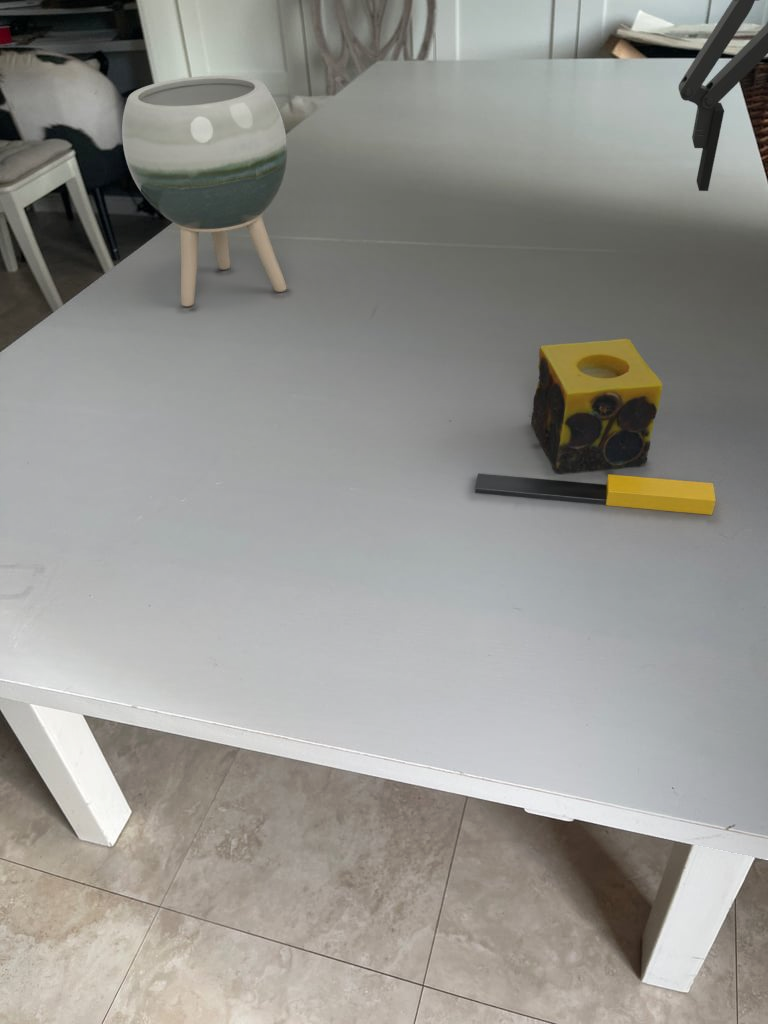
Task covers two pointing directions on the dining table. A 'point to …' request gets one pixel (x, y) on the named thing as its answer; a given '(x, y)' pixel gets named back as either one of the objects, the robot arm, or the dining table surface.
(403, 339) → the dining table surface
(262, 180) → the planter
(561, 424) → the candle
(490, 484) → the knife
